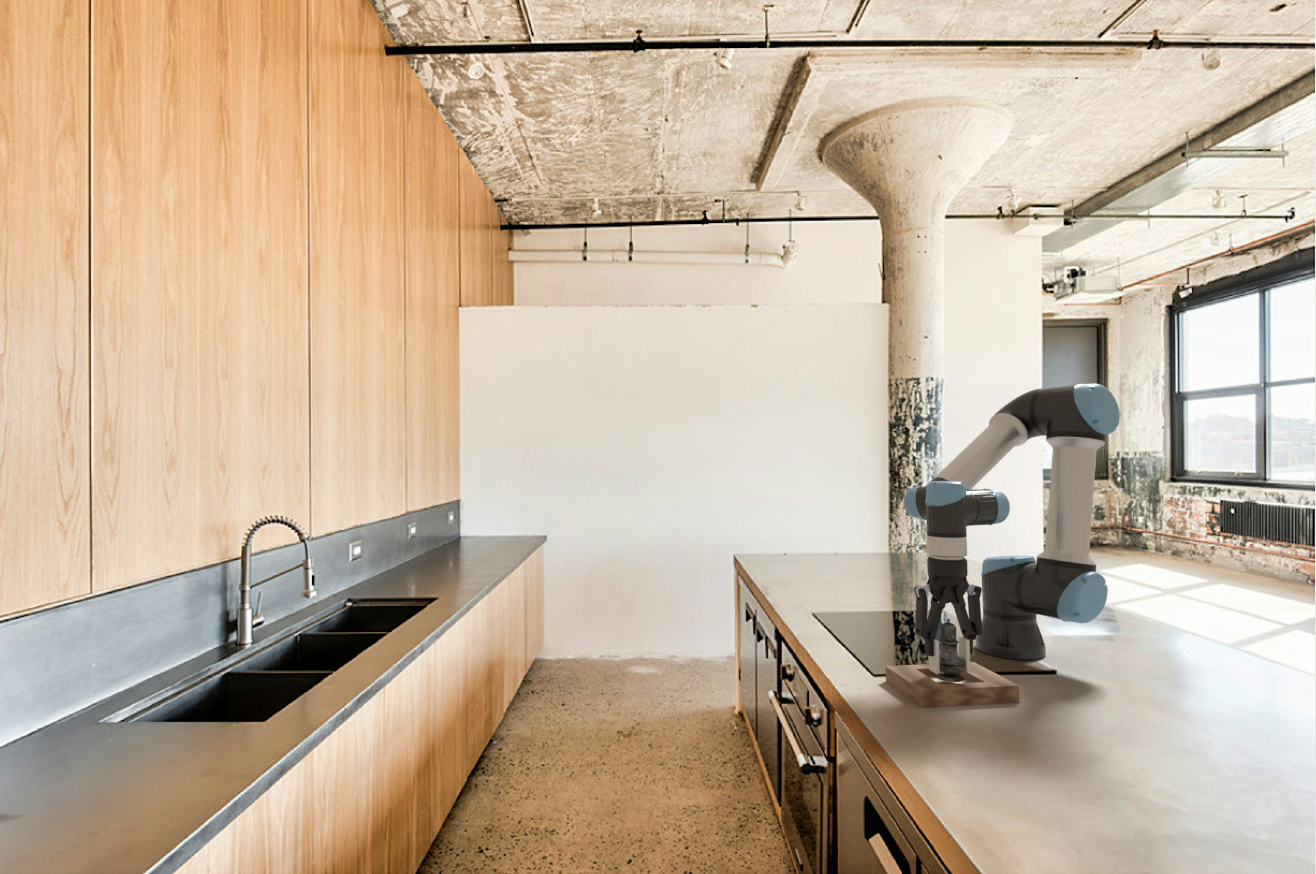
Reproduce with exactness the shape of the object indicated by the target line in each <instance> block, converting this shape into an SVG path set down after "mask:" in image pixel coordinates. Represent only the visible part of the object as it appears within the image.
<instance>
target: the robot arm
mask: <svg viewBox="0 0 1316 874" xmlns="http://www.w3.org/2000/svg"><path fill="white" fill-rule="evenodd" d="M1120 417H1121V415H1120V408H1119V405H1118V402H1117V399H1116V397H1115V396H1114V395H1113V393H1112V392H1111V391H1110V390H1109V389H1108V388H1107V387H1106V386H1105V385H1102V384H1099V383H1078V384H1072V385H1071V384H1070V385H1063V386H1056V387H1053V386H1052V387H1044V388H1036V389H1033V390H1030V391H1027V392H1025V393H1022V394H1021V395H1019V396H1017V397H1016V398H1014V399H1012V400H1011V401H1010V402H1008V403H1007V404H1005V405H1004V406H1003V407H1001V408H1000V409H999V410H998V411H997V412H995V413H994V414H993V416H991V418H990V419H989V421H988V426H987V427H986V428H984V430H983V431H982V432H981V433H980V434H978V436H977V437H975V439H973V440H971V442H970V443H969V444H968V445H966V447H965V448H964V449H963V450H961V452H960V453H959V454H957V455H956V457H955V458H954V459H952V460H951V461H950V462H949V463H948V464H947V465H946V466H945V467H944V468H942V469H941V471H940V472H939V473H938V474H937V475H935V476H934V477H933V478H932V480H931V481H929V482H927V484H926V485H925V486H923V485H919V486H913V487H911V488H909V489H908V490H907V491H906V493H905V495H904V499H903V504H904V505H903V506H904V509H905V511H906V513H907V514H908V515H909V516H910V517H912V518H915V519H918V520H919V519H920V520H924V521H926V550H927V551H926V553H927V555H929V556H928V557H927V559H926V561H927V562H926V563H927V576H928V579H927V581H926V585H925V584H924V585H923V586H915V587H913V591H914V592H913V593H914V595H915V598H916V599H915V627H914V628H915V629H914V632H915V634H916V635H917V636H919V637H921V638H923V639H924V652H925V655H926V656H928V664H929V670H930V671H932V672H934V673H935V674H940V666H939V655H940V641H939V640H938V639H936V638H937V637H936V636H937V634H938V633H937V632H938V630H939V625H940V621H941V617H942V615H943V610H944V609H945V607H946V604H950V603H951V605H952V606H953V609H954V612H955V613H954V614H955V616H956V618H957V622H958V626H959V628H960V632H961V635H959V636H958V635H957V636H958V639H957V641H958V642H959V643H958V657H959V658H961V659H963V660H964V661H965V664H963V665H964V666H963V669H962V670H963V671H965V672H970V662H971V655H973V653H974V641H975V648H976V649H977V650H978V651H979V652H981V653H984V654H987V655H990V656H995V657H999V658H1004V659H1011V660H1012V659H1013V660H1027V661H1028V660H1039V659H1042V658H1045V657H1046V655H1047V647H1046V643H1045V640H1044V638H1043V635H1042V632H1041V630H1040V627H1039V625H1038V622H1037V621H1038V620H1037V615H1039V616H1042V617H1043V616H1044V617H1047V618H1052V619H1056V620H1061V621H1062V622H1064V623H1065V622H1069V623H1077V624H1087V623H1091V622H1092V621H1093V620H1095V619H1097V618H1098V616H1099V615H1100V614H1101V613H1102V612H1103V610H1104V608H1105V605H1106V602H1107V599H1108V585H1107V584H1106V582H1107V581H1106V578H1104V576H1103V575H1102V574H1100V573H1098V572H1097V562H1095V561H1094V559H1092V557H1090V547H1091V545H1090V544H1091V531H1092V517H1093V516H1092V515H1093V506H1094V505H1093V504H1094V490H1095V475H1096V461H1097V451H1098V450H1099V449H1101V448H1102V447H1103V446H1104V445H1105V444H1106V435H1110V434H1112V433H1114V432H1115V431H1116V430H1117V428H1118V426H1119V425H1120ZM1043 436H1044V437H1045V442H1046V443H1048V444H1049V445H1050V446H1051V448H1052V456H1051V469H1050V481H1049V482H1050V484H1049V492H1048V494H1049V495H1048V507H1047V518H1046V519H1047V520H1046V530H1045V531H1046V532H1045V533H1046V534H1045V535H1046V536H1045V545H1044V550H1043V551H1042V552H1041V553H1039V554H1038V555H1036V558H1035V556H1033V555H1003V556H1002V555H1000V556H989V557H985V559H984V560H983V561H982V565H981V575H980V576H981V586H978V585H976V584H969V583H970V582H968V579H967V576H968V575H969V574H968V573H969V571H968V560H967V558H966V557H967V556H968V542H967V541H968V539H967V538H968V537H967V527H970V526H972V527H973V526H993V525H996V524H1001V523H1003V522H1004V521H1005V520H1006V519H1007V518H1008V517H1009V515H1010V511H1011V507H1010V506H1011V505H1010V504H1011V503H1010V501H1009V499H1008V497H1007V496H1006V495H1005V493H1004V492H1002V491H1001V490H999V489H993V488H982V489H978V488H977V489H974V488H975V486H976V485H977V484H978V483H979V482H980V481H981V480H982V479H983V478H984V477H985V476H986V475H987V474H989V472H990V471H992V469H993V468H995V467H996V466H997V464H998V463H1000V461H1001V460H1003V458H1004V457H1005V456H1006V455H1007V454H1008V453H1009V452H1011V451H1012V449H1014V448H1015V447H1019V446H1022V445H1024V444H1026V442H1027V441H1028V440H1030V439H1032V438H1033V439H1034V438H1036V437H1043ZM929 593H930V594H931V599H930V608H929V606H928V605H929V601H928V597H929V596H930V594H929ZM965 594H967V604H966V601H965V598H964V595H965ZM981 595H982V611H981ZM966 606H967V608H968V611H967V608H966ZM928 608H929V609H928ZM981 612H982V613H981Z"/></svg>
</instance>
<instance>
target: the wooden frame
mask: <svg viewBox="0 0 1316 874" xmlns="http://www.w3.org/2000/svg"><path fill="white" fill-rule="evenodd" d="M940 672H941V671H940ZM958 674H959V675H961V676H962V677H963V678H964V680H963V681H961V682H947V681H943V680H940V679H938V678H936V674H935V673H934V672H932V671H930V670H929V663H925V664H924V663H923V664H903V665H901V664H900V665H885V682H886V683H888V684H889V685H890V686H892V688H895V689H896V690H897V691H898V692H900V693H901V694H903V695H905V696H906V697H907V698H908V699H910V700H912V701H913V702H914V703H916V704H917V705H918V707H921V708H936V707H937V708H940V707H957V706H960V707H961V706H975V705H976V706H977V705H990V704H991V705H993V704H1010V703H1012V704H1013V703H1020V701H1021V699H1020V698H1021V696H1020V684H1017V683H1015V682H1013V681H1011V680H1009V679H1007V678H1005V677H1004V676H1002V675H999V674H998V673H996V672H994V671H992V670H990V669H988V668H986V667H984V666H983V665H980V664H978V663H976V662H975V661H970V672H965V671H963V670H962V671H961V672H960V673H958Z"/></svg>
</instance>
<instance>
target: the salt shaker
mask: <svg viewBox="0 0 1316 874" xmlns="http://www.w3.org/2000/svg"><path fill="white" fill-rule="evenodd" d="M940 625H941V626H940V639H939V640H938V641H939V643H940V652H939V666H940V671H941V672H940V674H936V678H938V679H940V680H943V681H947V682H961V681H963V680H964V678H963V677H962V676H961V675H959V674H958V673H960V672H961V671H962V669H963V666H964V665H963V664H965V661H964V660H963V659H961V658H959V652H958V645H959V640H958V639H957V626H956V624H953V623H952V622H951V619H949V618H947V619H946V622H944V623H942V624H940Z"/></svg>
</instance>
